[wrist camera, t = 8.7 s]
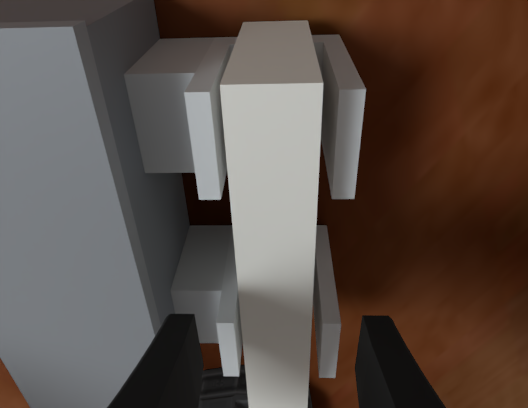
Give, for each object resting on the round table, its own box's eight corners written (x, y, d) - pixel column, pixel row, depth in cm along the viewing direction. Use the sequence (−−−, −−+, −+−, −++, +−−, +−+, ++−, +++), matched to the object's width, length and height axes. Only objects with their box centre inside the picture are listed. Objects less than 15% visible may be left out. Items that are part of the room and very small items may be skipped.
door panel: (243, 22, 13) (219, 84, 8) (307, 20, 13) (323, 82, 8) (258, 295, 20) (249, 420, 15) (300, 295, 20) (306, 421, 15)
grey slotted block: (343, -23, 13) (385, 18, 8) (321, 299, 21) (335, 431, 16) (-7, -13, 14) (-196, 33, 8) (101, 298, 22) (41, 425, 16)
